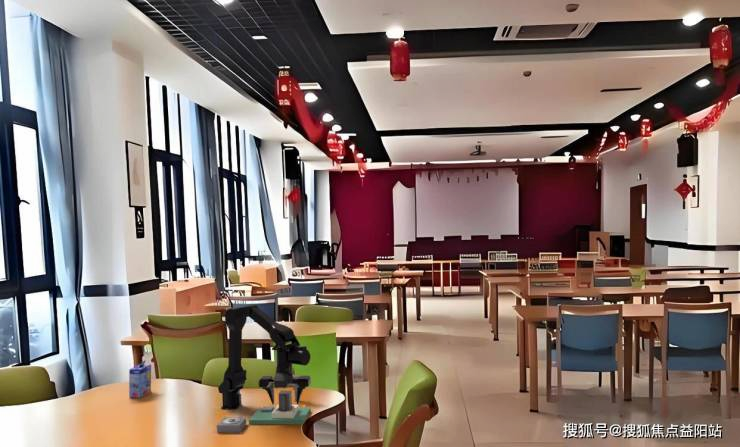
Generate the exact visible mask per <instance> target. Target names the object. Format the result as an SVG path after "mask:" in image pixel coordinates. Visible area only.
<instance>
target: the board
mask: <svg viewBox="0 0 740 447" xmlns="http://www.w3.org/2000/svg"><path fill="white" fill-rule="evenodd" d="M310 413H311V407H309V406H308V407H307V406H306V407H304V406H303V407H302V406H299V404H298V405H297V404H292V411H287V412H281V411H279V404H277V405H276V407H275V405H274V406H273V405H265V406H262V407H258V408H257V410H256V411H255V412H254V413H253V414H252V416H251V417H250V418H249V419H248V425H304V424H305V422H306V420H307V418H308V417H309V415H310Z"/></svg>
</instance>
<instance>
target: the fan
mask: <svg viewBox="0 0 740 447" xmlns="http://www.w3.org/2000/svg"><path fill="white" fill-rule="evenodd" d="M246 425H247V417H243V416H241V417H239V416H238V417H234V416H233V417H228V416H227V417H226V416H225V417H224V418H222V419H221V420H220V421H219V423H218V424H217V425H216V433H217V434H219V433H220V434H221V433H223V434H224V433H227V434H228V433H229V434H231V433H232V434H233V433H235V434H236V433H241V431H242V430H243V429H244V428H245V427H246Z"/></svg>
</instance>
